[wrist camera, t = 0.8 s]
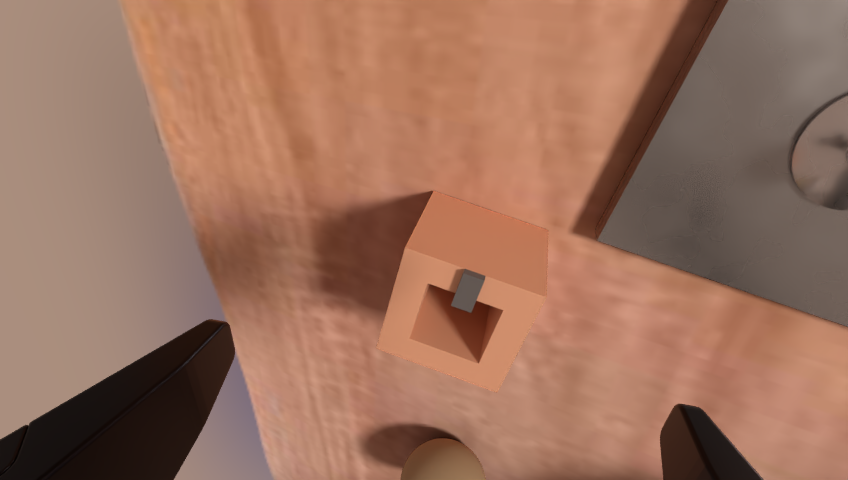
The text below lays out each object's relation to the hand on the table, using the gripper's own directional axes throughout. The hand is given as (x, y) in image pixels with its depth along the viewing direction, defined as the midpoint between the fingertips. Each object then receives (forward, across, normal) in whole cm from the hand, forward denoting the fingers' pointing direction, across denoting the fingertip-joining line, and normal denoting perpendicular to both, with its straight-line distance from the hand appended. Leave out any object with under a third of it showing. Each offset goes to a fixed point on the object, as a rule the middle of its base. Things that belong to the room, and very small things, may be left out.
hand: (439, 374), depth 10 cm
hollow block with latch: (+12, 0, +6) cm, 14 cm away
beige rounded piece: (+12, -1, +20) cm, 24 cm away
